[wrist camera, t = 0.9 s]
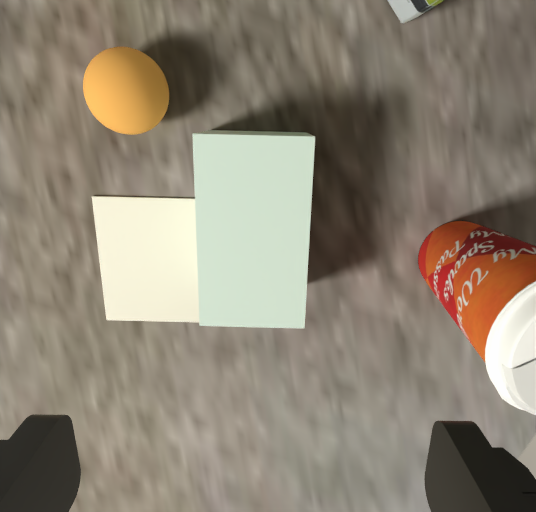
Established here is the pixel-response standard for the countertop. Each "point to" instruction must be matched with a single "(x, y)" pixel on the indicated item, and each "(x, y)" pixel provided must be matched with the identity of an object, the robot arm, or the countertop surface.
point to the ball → (126, 90)
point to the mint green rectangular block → (253, 226)
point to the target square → (148, 258)
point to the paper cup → (489, 300)
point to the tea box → (411, 8)
